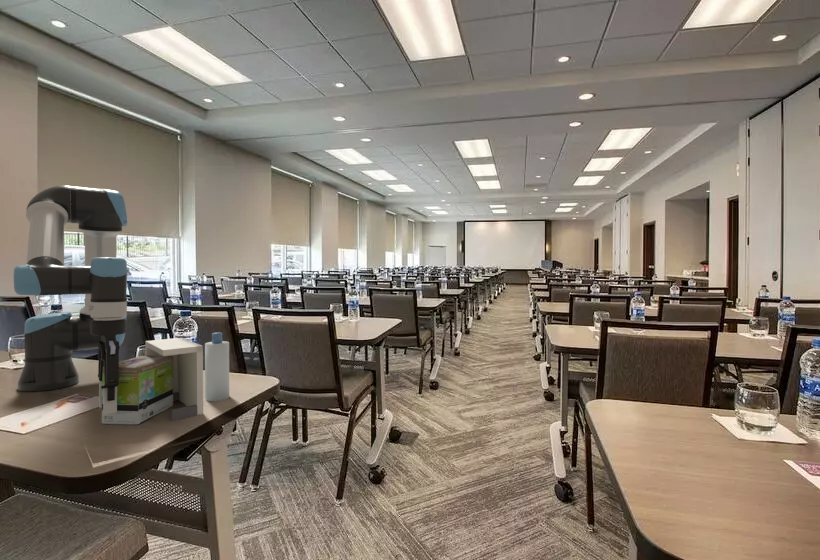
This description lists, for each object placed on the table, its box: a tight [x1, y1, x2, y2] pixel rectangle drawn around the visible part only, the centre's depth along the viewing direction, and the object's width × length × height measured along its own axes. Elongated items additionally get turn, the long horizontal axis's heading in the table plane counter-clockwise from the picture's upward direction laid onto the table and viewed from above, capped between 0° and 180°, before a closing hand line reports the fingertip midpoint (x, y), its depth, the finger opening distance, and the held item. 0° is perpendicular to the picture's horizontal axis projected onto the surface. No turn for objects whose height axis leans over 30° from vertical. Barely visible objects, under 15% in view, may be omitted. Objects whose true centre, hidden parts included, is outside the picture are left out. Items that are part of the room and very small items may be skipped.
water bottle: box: [204, 331, 230, 402], centre depth 128 cm, size 7×7×20 cm
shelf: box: [145, 337, 204, 416], centre depth 119 cm, size 19×10×18 cm, turn 43°
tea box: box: [101, 355, 174, 425], centre depth 114 cm, size 15×10×15 cm, turn 179°
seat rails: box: [170, 392, 198, 421], centre depth 119 cm, size 18×6×2 cm, turn 43°
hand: (107, 409), depth 108 cm, fingers closed on tea box, 6 cm apart
